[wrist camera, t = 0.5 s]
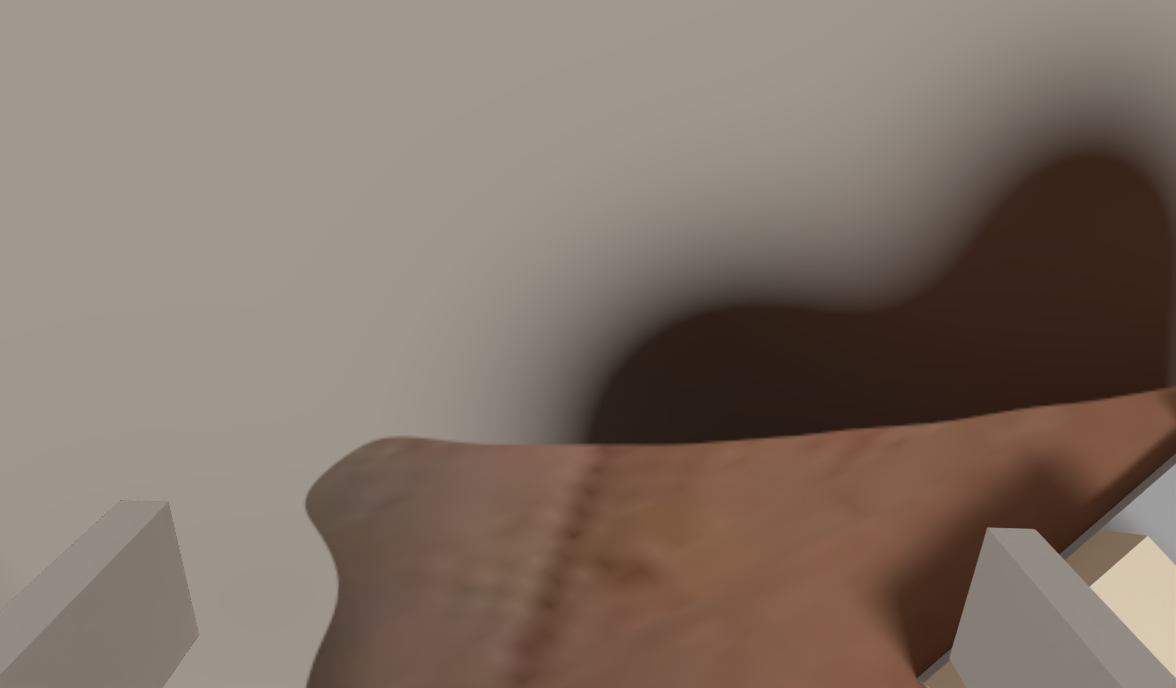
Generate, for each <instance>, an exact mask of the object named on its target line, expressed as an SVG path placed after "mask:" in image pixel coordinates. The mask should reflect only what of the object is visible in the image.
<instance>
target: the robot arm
mask: <svg viewBox="0 0 1176 688" xmlns="http://www.w3.org/2000/svg"><path fill="white" fill-rule="evenodd" d="M198 636H199V633H198V628H197V624H196V620H195V615H194V611H193V607H192V602H191V598H190V593H189V589H188V585H187V580H186V576H185V572H184V567H183V563H182V559H181V555H180V550H179V546H178V542H177V537H176V533H175V528H174V524H173V520H172V516H171V511H170V507H169V502H154V501H153V502H152V501H123V500H120V501H119V502H118V503H117V504H116V505H115V506H114V507H113V508H112V509H111V510H110V511H109V512H107V513H106V514H105V515H104V516H103V517H102V518H101V519H100V520H99V521H98V522H97V523H96V524H94V525H93V526H92V527H91V528H90V529H89V530H88V531H87V532H86V533H85V534H83V535H82V536H81V537H80V538H79V539H78V540H77V541H76V542H75V543H74V544H73V545H71V546H70V547H69V548H68V549H67V550H66V551H65V552H64V553H63V554H62V555H61V556H60V557H59V558H57V559H56V560H55V561H54V562H53V563H52V564H51V565H50V566H49V567H48V568H46V569H45V570H44V571H43V572H42V573H41V574H40V575H39V576H38V577H37V578H36V579H34V580H33V581H32V582H31V583H30V584H29V585H28V586H27V587H26V588H25V589H24V590H22V591H21V592H20V593H19V594H18V595H17V596H16V597H15V598H14V599H13V600H12V601H11V602H9V603H8V604H7V605H6V606H5V607H4V608H3V609H2V610H1V611H0V688H162V687H163V686H164V685H165V683H166V682H167V680H168V679H169V677H170V676H171V675H172V673H173V672H174V670H175V669H176V667H177V666H178V664H179V663H180V661H181V660H182V659H183V657H184V656H185V654H186V653H187V652H188V650H189V649H190V647H191V646H192V644H193V643H194V641H195V640H196V639H197V637H198ZM949 659H950V661H951V662H952V664H953V666H954V667H955V669H956V671H957V672H958V674H959V676H960V677H961V679H962V681H963V682H964V684H965V686H966V688H1176V678H1175V677H1174V676H1173V675H1172V674H1171V673H1170V672H1169V670H1168V669H1167V668H1166V667H1165V666H1164V665H1163V664H1162V663H1161V662H1160V661H1159V660H1158V659H1157V658H1156V657H1155V656H1154V655H1153V654H1152V652H1151V651H1150V650H1149V649H1148V648H1147V647H1146V646H1145V645H1144V644H1143V643H1142V642H1141V641H1140V640H1139V639H1138V638H1137V637H1136V636H1135V634H1134V633H1133V632H1132V631H1131V630H1130V629H1129V628H1128V627H1127V626H1126V625H1125V624H1124V623H1123V622H1122V621H1121V620H1120V619H1119V617H1118V616H1117V615H1116V614H1115V613H1114V612H1113V611H1112V610H1111V609H1110V608H1109V607H1108V606H1107V605H1106V604H1105V603H1104V602H1103V601H1102V599H1101V598H1100V597H1099V596H1098V595H1097V594H1096V593H1095V592H1094V591H1093V590H1092V589H1091V588H1090V587H1089V586H1088V585H1087V584H1086V583H1085V581H1084V580H1083V579H1082V578H1081V577H1080V576H1079V575H1078V574H1077V573H1076V572H1075V571H1074V570H1073V569H1072V568H1071V567H1070V566H1069V564H1068V563H1067V562H1066V561H1065V560H1064V559H1063V558H1062V557H1061V556H1060V555H1059V554H1058V553H1057V552H1056V551H1055V550H1054V549H1053V548H1052V546H1051V545H1050V544H1049V543H1048V542H1047V541H1046V540H1045V539H1044V538H1043V537H1042V536H1041V535H1040V534H1039V533H1038V532H1037V531H1036V530H1035V529H1016V528H987V531H986V534H985V537H984V541H983V544H982V548H981V551H980V555H979V558H978V561H977V565H976V568H975V572H974V575H973V578H972V582H971V585H970V589H969V592H968V596H967V599H966V602H965V606H964V609H963V613H962V616H961V619H960V623H959V626H958V630H957V633H956V637H955V640H954V643H953V647H952V650H951V654H950V657H949Z"/></svg>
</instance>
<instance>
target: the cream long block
mask: <svg viewBox="0 0 1176 688" xmlns="http://www.w3.org/2000/svg"><path fill="white" fill-rule="evenodd" d="M1059 555H1060V556H1061V557H1062V558H1063V559H1064V560H1065V561H1066V562H1067V563H1068V564H1069V566H1070V567H1071V568H1072V569H1073V570H1074V571H1075V572H1076V573H1077V574H1078V575H1079V576H1080V577H1081V578H1082V579H1083V580H1084V581H1085V583H1086V584H1087V585H1088V586H1089V587H1090V588H1091V589H1092V590H1093V591H1094V592H1095V593H1096V594H1097V595H1098V596H1099V597H1100V598H1101V599H1102V601H1103V602H1104V603H1105V604H1106V605H1107V606H1108V607H1109V608H1110V609H1111V610H1112V611H1113V612H1114V613H1115V614H1116V615H1117V616H1118V617H1119V619H1120V620H1121V621H1122V622H1123V623H1124V624H1125V625H1126V626H1127V627H1128V628H1129V629H1130V630H1131V631H1132V632H1133V633H1134V634H1135V636H1136V637H1137V638H1138V639H1139V640H1140V641H1141V642H1142V643H1143V644H1144V645H1145V646H1146V647H1147V648H1148V649H1149V650H1150V651H1151V652H1152V654H1153V655H1154V656H1155V657H1156V658H1157V659H1158V660H1159V661H1160V662H1161V663H1162V664H1163V665H1164V666H1165V667H1166V668H1167V669H1168V670H1169V672H1170V673H1171V674H1172V675H1173V676H1174V677H1175V678H1176V453H1175V454H1174V455H1173V456H1172V457H1171V458H1170V459H1169V460H1167V461H1166V462H1165V463H1164V464H1163V465H1162V466H1161V467H1159V468H1158V469H1157V470H1156V471H1155V472H1154V473H1152V474H1151V475H1150V476H1149V477H1148V478H1147V479H1146V480H1144V481H1143V482H1142V483H1141V484H1140V485H1139V486H1138V487H1136V488H1135V489H1134V490H1133V491H1132V492H1131V493H1129V494H1128V495H1127V496H1126V497H1125V498H1124V499H1123V500H1121V501H1120V502H1119V503H1118V504H1117V505H1116V506H1114V507H1113V508H1112V509H1111V510H1110V511H1109V512H1108V513H1106V514H1105V515H1104V516H1103V517H1102V518H1101V519H1100V520H1098V521H1097V522H1096V523H1095V524H1094V525H1093V526H1091V527H1090V528H1089V529H1088V530H1087V531H1086V532H1085V533H1083V534H1082V535H1081V536H1080V537H1079V538H1078V539H1076V540H1075V541H1074V542H1073V543H1072V544H1071V545H1070V546H1068V547H1067V548H1066V549H1065V550H1064V551H1063V552H1062V553H1060V554H1059ZM951 650H952V648H951V649H950V650H949V651H948V652H946V653H945V654H944V655H943V656H942V657H941V658H940V659H938V660H937V661H936V662H935V663H934V664H933V665H931V666H930V667H929V668H928V669H927V670H926V671H925V672H923V673H922V674H921V675H920V676H919V677H918V678H917V679H918V680H919V681H920V683H921V684H922V685H923V686H924V688H966V686H965V684H964V682H963V681H962V679H961V677H960V676H959V674H958V672H957V671H956V669H955V667H954V666H953V664H952V662H951V661H950V659H949V657H950V654H951Z"/></svg>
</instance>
